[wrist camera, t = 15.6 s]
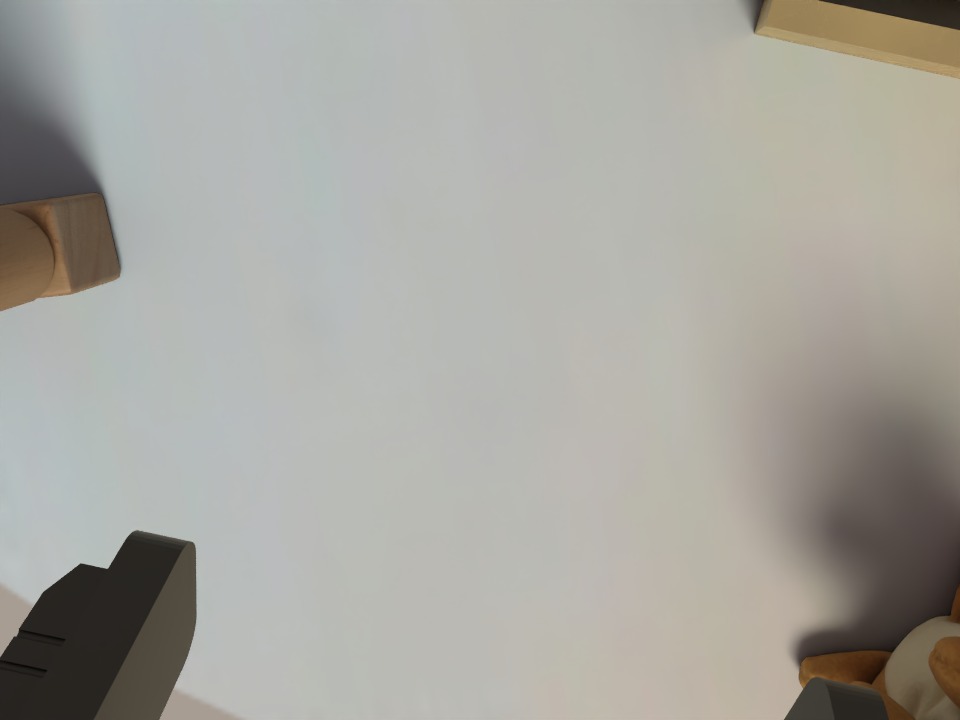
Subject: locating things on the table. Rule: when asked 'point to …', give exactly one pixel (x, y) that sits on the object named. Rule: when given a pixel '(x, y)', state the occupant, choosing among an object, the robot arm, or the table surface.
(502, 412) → the table surface
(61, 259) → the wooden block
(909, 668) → the stuffed squirrel
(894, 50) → the square socket fixture
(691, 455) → the table surface
